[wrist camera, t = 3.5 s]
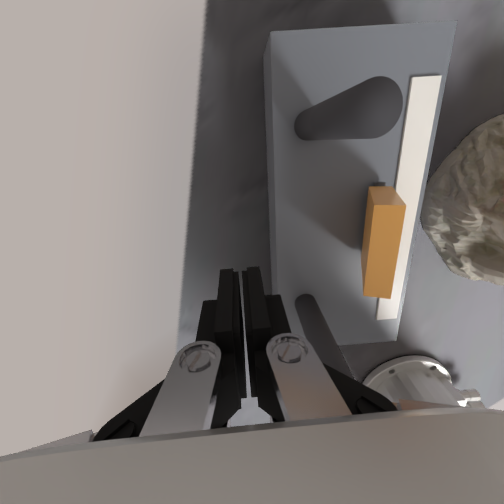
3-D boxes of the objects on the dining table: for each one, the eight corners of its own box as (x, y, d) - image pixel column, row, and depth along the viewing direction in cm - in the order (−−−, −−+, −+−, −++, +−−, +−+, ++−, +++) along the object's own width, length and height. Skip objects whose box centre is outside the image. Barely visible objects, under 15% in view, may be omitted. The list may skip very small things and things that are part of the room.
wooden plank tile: (391, 181, 20) (407, 201, 14) (380, 257, 23) (390, 301, 17) (368, 181, 21) (374, 201, 15) (360, 256, 23) (363, 298, 17)
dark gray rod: (322, 108, 18) (407, 74, 9) (321, 139, 19) (398, 136, 10) (294, 110, 18) (350, 78, 9) (294, 141, 19) (345, 140, 10)
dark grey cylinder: (316, 292, 24) (363, 385, 15) (315, 310, 25) (360, 409, 16) (294, 294, 24) (328, 388, 15) (294, 312, 25) (327, 412, 16)
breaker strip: (406, 48, 22) (459, 18, 17) (371, 309, 32) (397, 342, 27) (262, 57, 22) (270, 30, 16) (272, 317, 32) (279, 352, 26)
